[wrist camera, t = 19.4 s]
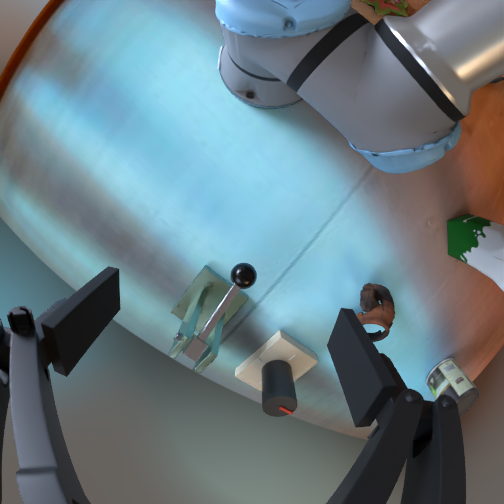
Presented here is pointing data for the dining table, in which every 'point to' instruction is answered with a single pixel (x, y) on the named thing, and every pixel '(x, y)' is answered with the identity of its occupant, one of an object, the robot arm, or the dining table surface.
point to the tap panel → (276, 349)
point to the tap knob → (278, 388)
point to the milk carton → (478, 245)
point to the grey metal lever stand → (203, 313)
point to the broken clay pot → (376, 309)
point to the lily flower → (389, 7)
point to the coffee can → (452, 384)
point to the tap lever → (221, 308)
